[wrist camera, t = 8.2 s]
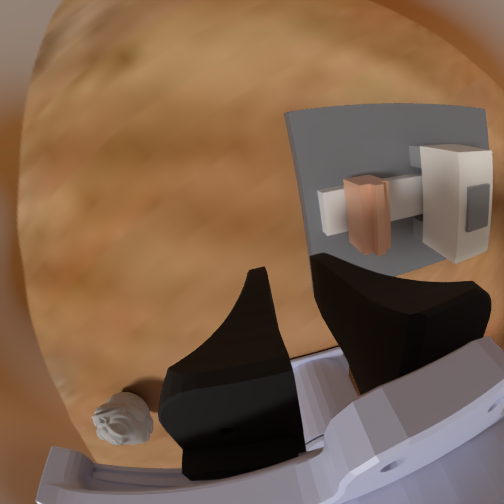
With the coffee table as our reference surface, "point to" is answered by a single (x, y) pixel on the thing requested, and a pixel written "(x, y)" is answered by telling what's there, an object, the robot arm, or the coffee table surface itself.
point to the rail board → (372, 171)
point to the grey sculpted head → (123, 420)
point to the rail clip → (368, 213)
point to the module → (454, 198)
